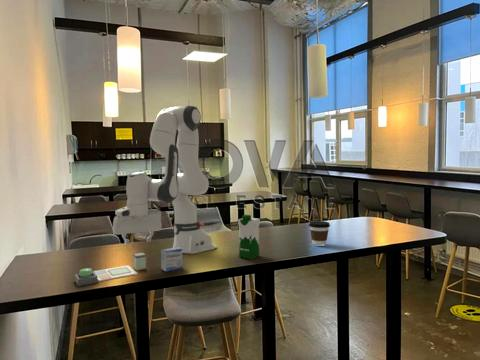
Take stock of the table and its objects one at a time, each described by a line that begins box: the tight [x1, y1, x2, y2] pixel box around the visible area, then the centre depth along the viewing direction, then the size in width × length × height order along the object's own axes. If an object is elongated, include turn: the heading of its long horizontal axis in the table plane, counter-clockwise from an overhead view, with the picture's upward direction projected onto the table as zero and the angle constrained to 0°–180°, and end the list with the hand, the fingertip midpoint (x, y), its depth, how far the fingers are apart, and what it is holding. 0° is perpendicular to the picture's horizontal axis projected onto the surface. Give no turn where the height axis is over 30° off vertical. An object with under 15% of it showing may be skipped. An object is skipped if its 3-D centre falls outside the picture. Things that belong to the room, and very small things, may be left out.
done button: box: [79, 267, 93, 278], centre depth 143 cm, size 4×4×3 cm
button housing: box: [74, 270, 99, 287], centre depth 143 cm, size 7×7×2 cm
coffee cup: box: [308, 220, 331, 245], centre depth 193 cm, size 11×11×12 cm
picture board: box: [93, 264, 138, 283], centre depth 152 cm, size 15×13×1 cm
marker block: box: [132, 252, 147, 271], centre depth 159 cm, size 4×4×6 cm
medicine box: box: [160, 247, 183, 272], centre depth 157 cm, size 8×4×9 cm, turn 126°
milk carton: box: [237, 214, 261, 260], centre depth 173 cm, size 9×9×20 cm
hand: (138, 242), depth 158 cm, fingers open, 8 cm apart
